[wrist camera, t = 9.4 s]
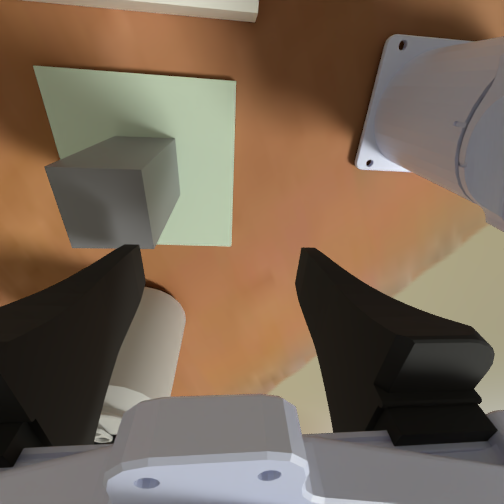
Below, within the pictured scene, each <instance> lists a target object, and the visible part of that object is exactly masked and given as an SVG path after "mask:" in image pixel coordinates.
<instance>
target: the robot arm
mask: <svg viewBox="0 0 504 504" xmlns="http://www.w3.org/2000/svg"><path fill="white" fill-rule="evenodd" d="M401 41H403V42H404V47H403V49H402V50H399V43H400V42H401ZM368 160H371V163H370V164H369V165H366V162H367V161H368ZM355 166H356V167H357V168H358V169H361V170H379V171H398V172H413V173H415V174H417V175H419V176H421V177H423V178H425V179H427V180H429V181H431V182H433V183H435V184H437V185H439V186H441V187H443V188H445V189H447V190H449V191H451V192H453V193H455V194H457V195H459V196H461V197H463V198H465V199H467V200H469V201H471V202H473V203H476V204H478V205H479V206H480V207H481V208H482V209H483V210H484V212H485V216H486V223H488V224H490V225H492V226H494V227H496V228H497V229H499V230H501V231H503V232H504V36H503V37H497V38H492V39H486V40H480V41H465V40H455V39H444V38H434V37H423V36H413V35H402V34H395V35H392V36H390V37H389V38H388V39H387V40H386V42H385V45H384V48H383V52H382V56H381V60H380V64H379V68H378V72H377V76H376V80H375V84H374V88H373V92H372V96H371V100H370V104H369V108H368V112H367V115H366V119H365V123H364V127H363V131H362V135H361V139H360V143H359V147H358V151H357V155H356V159H355ZM145 283H146V281H145V275H144V269H143V263H142V258H141V252H140V246H139V245H138V244H124V245H122V246H120V247H119V248H117V249H115V250H114V251H112V252H111V253H109V254H107V255H106V256H104V257H103V258H101V259H99V260H98V261H96V262H95V263H93V264H91V265H90V266H88V267H86V268H85V269H83V270H81V271H79V272H78V273H76V274H74V275H72V276H71V277H69V278H67V279H65V280H63V281H61V282H59V283H57V284H55V285H53V286H51V287H49V288H47V289H44V290H42V291H40V292H38V293H35V294H33V295H30V296H28V297H25V298H23V299H20V300H18V301H15V302H13V303H10V304H7V305H5V306H2V307H0V504H504V410H497V411H493V412H490V413H488V414H485V413H484V412H483V411H482V409H481V408H480V407H479V406H478V404H480V403H481V402H482V399H481V397H480V396H479V395H478V393H477V392H476V391H475V390H474V388H475V387H476V385H477V384H478V383H479V382H480V380H481V379H482V378H483V377H484V375H485V374H486V373H487V372H488V370H489V369H490V367H491V365H492V364H493V359H494V351H493V348H492V347H491V346H490V345H489V344H488V343H487V342H486V341H485V340H484V339H483V338H482V337H481V336H480V334H479V333H478V332H477V331H475V329H474V328H472V327H471V326H468V325H465V324H462V323H458V322H455V321H452V320H448V319H445V318H442V317H439V316H435V315H433V314H430V313H427V312H425V311H422V310H419V309H417V308H414V307H412V306H409V305H407V304H404V303H402V302H400V301H398V300H396V299H394V298H391V297H389V296H387V295H385V294H383V293H381V292H380V291H378V290H376V289H374V288H372V287H370V286H369V285H367V284H365V283H364V282H362V281H361V280H359V279H357V278H356V277H354V276H353V275H351V274H350V273H349V272H347V271H346V270H344V269H343V268H341V267H340V266H339V265H337V264H336V263H335V262H333V261H332V260H331V259H330V258H328V257H327V256H326V255H324V254H323V253H322V252H320V251H319V250H317V249H316V248H301V254H300V259H299V265H298V270H297V276H296V281H295V285H296V291H297V295H298V300H299V303H300V306H301V309H302V312H303V315H304V318H305V320H306V323H307V326H308V328H309V331H310V334H311V337H312V339H313V342H314V345H315V349H316V352H317V356H318V360H319V364H320V369H321V373H322V377H323V382H324V386H325V391H326V396H327V401H328V406H329V411H330V416H331V422H332V427H333V433H321V434H302V433H301V429H300V424H299V419H298V415H297V410H296V407H295V406H294V405H292V404H291V403H289V402H288V401H286V400H284V399H283V398H281V397H279V396H274V395H266V394H239V395H210V396H180V397H160V398H155V399H150V400H145V401H141V402H139V403H138V404H136V405H135V406H133V407H132V408H130V409H129V410H128V411H126V412H125V413H123V416H122V420H121V423H120V426H119V429H118V432H117V435H116V438H115V441H114V444H95V445H93V444H94V440H95V435H96V431H97V427H98V423H99V419H100V415H101V412H102V408H103V404H104V400H105V396H106V393H107V389H108V386H109V382H110V379H111V376H112V372H113V369H114V366H115V363H116V359H117V356H118V353H119V351H120V348H121V346H122V343H123V341H124V339H125V336H126V334H127V332H128V330H129V327H130V325H131V323H132V320H133V318H134V316H135V314H136V311H137V309H138V307H139V304H140V302H141V298H142V295H143V291H144V287H145Z"/></svg>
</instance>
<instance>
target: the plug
mask: <svg viewBox="0 0 504 504" xmlns="http://www.w3.org/2000/svg"><path fill="white" fill-rule="evenodd" d="M45 170H46V173H47V176H48V179H49V182H50V185H51V188H52V191H53V194H54V196H55V199H56V202H57V205H58V208H59V211H60V214H61V217H62V220H63V223H64V225H65V228H66V231H67V234H68V237H69V240H70V243H71V246H72V248H119V247H120V246H122V245H124V244H138V245H139V246H140V249H154V248H155V246H156V244H157V242H158V240H159V238H160V236H161V234H162V232H163V230H164V228H165V226H166V224H167V221H168V219H169V217H170V215H171V213H172V211H173V209H174V207H175V205H176V203H177V201H178V199H179V197H180V185H179V174H178V163H177V153H176V142H175V138H152V137H126V136H114V137H111V138H109V139H107V140H104V141H102V142H100V143H97V144H95V145H93V146H91V147H88V148H86V149H84V150H81V151H79V152H77V153H75V154H72V155H70V156H68V157H65V158H63V159H61V160H58V161H56V162H54V163H52V164H49V165H47V166H45Z"/></svg>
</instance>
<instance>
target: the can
mask: <svg viewBox="0 0 504 504" xmlns="http://www.w3.org/2000/svg"><path fill="white" fill-rule="evenodd" d="M185 322H186V319H185V312H184V310H183V308H182V306H181V305H180V303H179V302H178V301H176V300H175V299H174V298H173V297H172V296H171V295H169V294H167V293H165V292H163V291H161V290H157V289H153V288H149V287H144V291H143V295H142V298H141V302H140V304H139V307H138V309H137V311H136V314H135V316H134V318H133V320H132V323H131V325H130V327H129V330H128V332H127V334H126V336H125V339H124V341H123V343H122V346H121V348H120V351H119V353H118V356H117V359H116V363H115V366H114V369H113V372H112V376H111V379H110V382H109V386H108V389H107V393H106V396H105V400H104V404H103V408H102V412H101V415H100V419H99V423H98V427H97V431H96V435H95V440H94V444H93V445H95V444H114V441H115V438H116V435H117V432H118V429H119V426H120V423H121V420H122V416H123V413H125V412H126V411H128V410H129V409H130V408H132V407H133V406H135V405H136V404H138V403H139V402H141V401H145V400H150V399H155V398H160V397H170V396H171V391H172V386H173V381H174V376H175V371H176V366H177V361H178V357H179V352H180V347H181V342H182V337H183V332H184V327H185Z"/></svg>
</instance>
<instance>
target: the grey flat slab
mask: <svg viewBox="0 0 504 504" xmlns="http://www.w3.org/2000/svg"><path fill="white" fill-rule="evenodd" d="M24 1H34V2H45V3H55V4H66V5H76V6H87V7H98V8H108V9H119V10H129V11H140V12H150V13H161V14H171V15H182V16H193V17H203V18H214V19H224V20H235V21H245V22H255V21H256V18H257V15H258V6H259V0H24Z"/></svg>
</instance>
